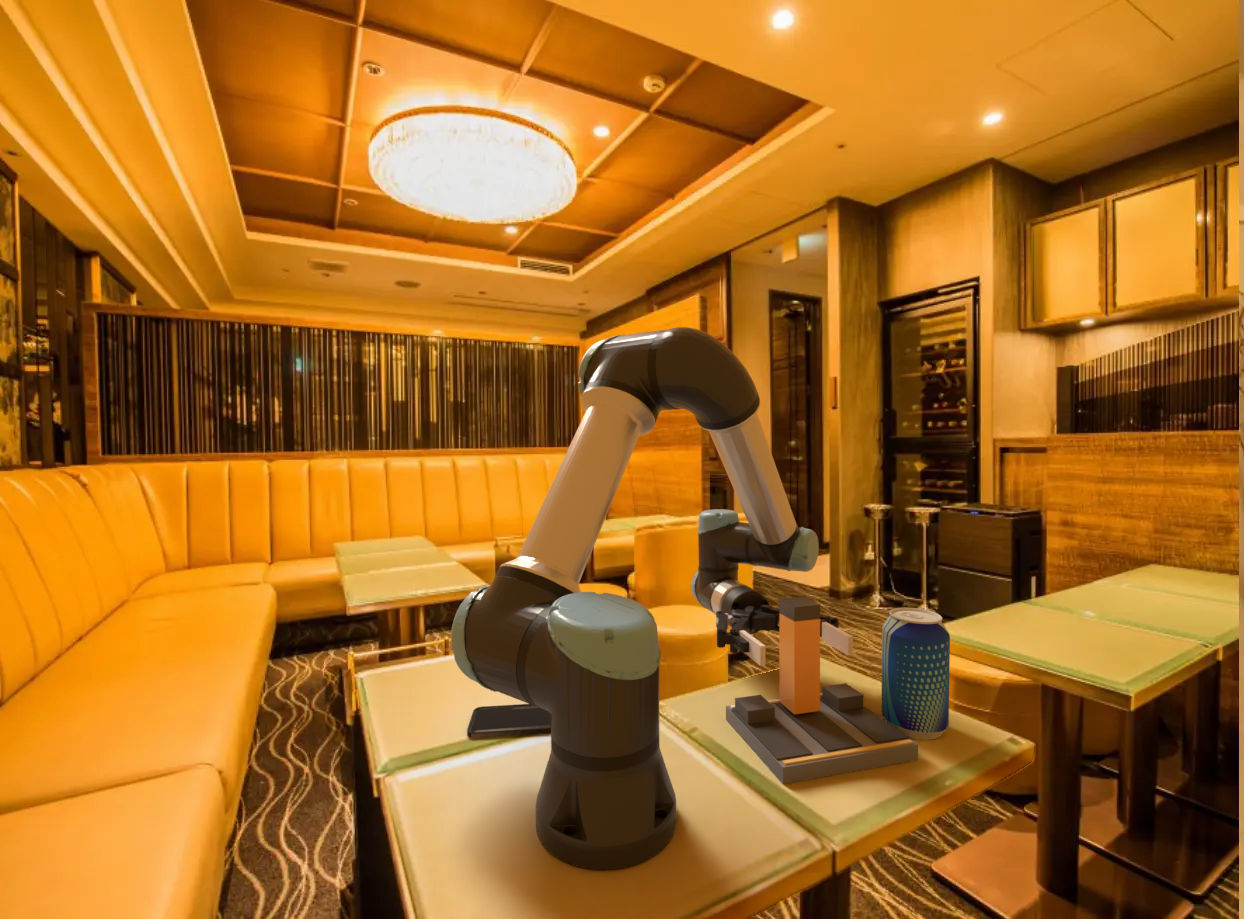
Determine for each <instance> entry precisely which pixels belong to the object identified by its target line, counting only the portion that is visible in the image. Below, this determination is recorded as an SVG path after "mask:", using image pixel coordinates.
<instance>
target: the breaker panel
mask: <svg viewBox="0 0 1244 919" xmlns="http://www.w3.org/2000/svg"><path fill="white" fill-rule="evenodd" d="M821 691H822V692H820V711H815V712H808V713H801V714H793V713H792V712H791V711H790V710H789V709H787V708H786V707H785V706H784V705H783V704H782V703H781V702H779V698H775V699H766V698H765V697H764V696H763V695H762V694H757V695H747V696H741V697H736V698H734V704H730V705H725V720H726V722H727V723H728V724H729V725H730V726H731V727H732V728H733V730H735V732H736V733H737V734H738V735H739V736H740V737H741V739H742V740H743V741H744V742H745V743H746V744H747V745H748V746H749V748H750V749H751V750H752V751H753V752H754V753H755V754H756V756H758V757H759V759H760V760H761V761H762V762H763V763H764V765H765V766H767V768H768V770H770V771H771V772H772V774H773V775H775V777H776V778H777V779H778V780H779V781H780V782H781V784H782V785H784V784H790V783H792V784H793V783H797V782H802V781H807V780H813V779H814V780H815V779H819V778H825V777H830V776H835V775H841V774H846V773H853V772H859V771H864V770H869V769H875V768H880V767H885V766H887V767H888V766H892V765H897V764H902V763H903V764H904V763H907V762H915V761H918V760H919V744H918V743H917V742H916V741H915V740H913V739H912V738H910V737H909V736H907V735H906V734H904V733H903V732H901V731H900V730H898V729H897V728H896V727H894V726H893V725H891V724H890V723H888V722H887V721H886V720H885V718H884V717H883V718H882V717H881V716H880V715H878V714H876V712H874V711H873V710H871V709H870V708H868V707H867V706H866V705H864V694H863V693H862V692H860V691H859V690H857V689H855V688H854V687H852V686H851V685H849V684H848V683H845V682H844V683H837V684H832V685H831V684H829V685H823V686H821Z"/></svg>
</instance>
